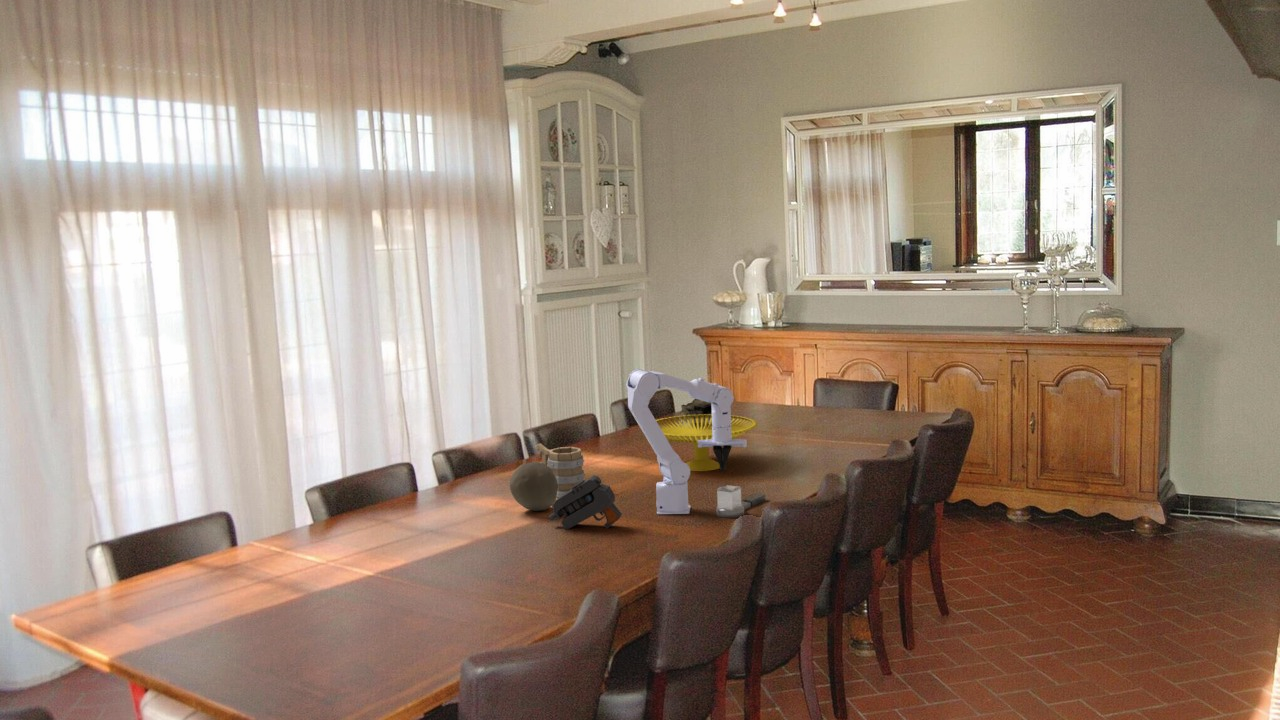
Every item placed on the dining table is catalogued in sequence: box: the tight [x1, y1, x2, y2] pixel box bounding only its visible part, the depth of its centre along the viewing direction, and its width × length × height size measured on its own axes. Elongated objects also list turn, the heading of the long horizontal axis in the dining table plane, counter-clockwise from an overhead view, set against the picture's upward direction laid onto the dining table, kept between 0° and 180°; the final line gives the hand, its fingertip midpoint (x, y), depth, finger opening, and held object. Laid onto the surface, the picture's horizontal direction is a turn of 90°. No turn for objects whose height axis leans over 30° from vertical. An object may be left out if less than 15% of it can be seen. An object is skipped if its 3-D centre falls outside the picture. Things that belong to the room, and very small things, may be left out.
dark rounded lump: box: [676, 398, 712, 428], centre depth 425 cm, size 28×13×15 cm
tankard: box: [534, 442, 586, 499], centre depth 336 cm, size 20×13×15 cm, turn 47°
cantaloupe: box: [509, 461, 558, 512], centre depth 312 cm, size 14×14×15 cm
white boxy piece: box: [716, 484, 742, 511], centre depth 300 cm, size 5×5×6 cm
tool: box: [548, 474, 623, 530], centre depth 294 cm, size 6×19×15 cm, turn 78°
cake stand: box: [655, 414, 758, 472], centre depth 361 cm, size 40×40×15 cm
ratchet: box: [715, 492, 766, 519], centre depth 306 cm, size 22×8×5 cm, turn 144°
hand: (723, 470), depth 311 cm, fingers closed
